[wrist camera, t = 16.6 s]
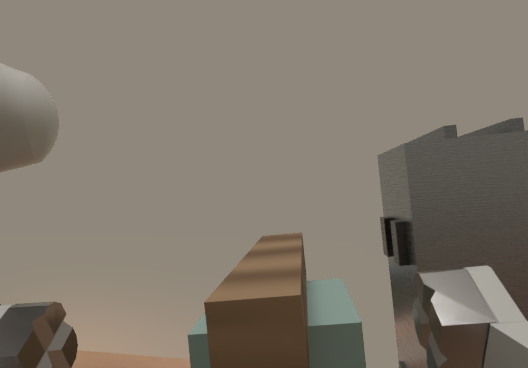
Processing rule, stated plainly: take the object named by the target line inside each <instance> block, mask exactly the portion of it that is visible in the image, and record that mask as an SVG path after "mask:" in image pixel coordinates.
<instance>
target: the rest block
mask: <svg viewBox="0 0 528 368" xmlns="http://www.w3.org/2000/svg"><path fill="white" fill-rule="evenodd" d="M306 287H307V314H308V341H309V368H366V362H365V353H364V343H363V333H362V323H361V320H360V318H359V316H358V314H357V311H356V309H355V307H354V305H353V303H352V300H351V298H350V296H349V294H348V292H347V290H346V287H345V285H344V283H343V280H342V279H341V278H339V279H327V280H315V281H306ZM188 342H189V353H190V364H191V368H210V358H209V347H208V336H207V326H206V315H205V314H204V315H203V316H202V318H201V319H200V320H199V321H198V323H197V324H196V325H195V326H194V328H193V329H192V330H191V331H190V333H189V334H188Z"/></svg>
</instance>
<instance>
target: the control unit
mask: <svg viewBox="0 0 528 368" xmlns="http://www.w3.org/2000/svg"><path fill="white" fill-rule="evenodd" d="M378 165H379V174H380V184H381V194H382V202H383V213H384V217H380V220H381V230H382V240H383V249H384V254H385V255H386V256H387V257H388V261H389V271H390V280H391V289H392V299H393V308H394V317H395V328H396V337H397V347H398V357H399V368H428V365H427V363H426V362H427V350H426V349H425V348H423V347H422V346H421V345H420V343H419V340H418V337H417V333H416V329H415V325H414V317H413V302H414V300H415V299H416V298H417V297H418V296H417V293H416V291H415V288H414V277H415V274H416V272H425V271H437V270H448V269H459V268H462V269H463V268H466V267H476V266H486V265H487V266H489V267H491V268H492V269H493V271H494V272H495V274H496V275H497V277H498V278H499V280H500V281H501V283H502V284H503V286H504V287H505V289H506V290H507V292H508V293H509V295H510V296H511V298H512V299H513V301H514V302H515V304H516V305H517V307H518V308H519V310H520V311H521V313H522V314H523V316H524V317H525V319H526V320H527V321H528V130H527V131H524V124H523V118H515V119H509V120H506V121H503V122H500V123H497V124H494V125H492V126H489V127H486V128H483V129H480V130H477V131H474V132H471V133H468V134H465V135H462V136H460V137H457V130H456V125H450V126H443V127H441V128H439V129H437V130H434V131H432V132H430V133H428V134H426V135H423V136H421V137H419V138H417V139H415V140H412V141H410V142H408V143H404V144H402V145H400V146H398V147H395V148H393V149H391V150H389V151H387V152H384V153H382V154H380V155H378Z"/></svg>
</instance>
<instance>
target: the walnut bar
mask: <svg viewBox="0 0 528 368" xmlns="http://www.w3.org/2000/svg"><path fill="white" fill-rule="evenodd" d="M204 304H205V315H206V326H207V336H208V347H209V358H210V368H309V341H308V314H307V287H306V269H305V258H304V248H303V238H302V233H292V234H282V235H270V236H262V237H261V239H260V240H259V241H258V242H257V243H256V244H255V246H254V247H253V248H252V249H251V250H250V251H249V252H248V253H247V254H246V256H245V257H244V258H243V259H242V260H241V261H240V262H239V264H238V265H237V266H236V267H235V268H234V269H233V271H232V272H231V273H230V274H229V275H228V276H227V277H226V278H225V279H224V281H223V282H222V283H221V284H220V285H219V286H218V287H217V289H216V290H215V291H214V292H213V293H212V294H211V295H210V297H209V298H208V299H207V300H206V301H205V302H204Z"/></svg>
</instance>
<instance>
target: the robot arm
mask: <svg viewBox="0 0 528 368" xmlns="http://www.w3.org/2000/svg"><path fill="white" fill-rule="evenodd" d="M58 129H59V119H58V113H57V109H56V106H55V103H54V101H53V99H52V97H51V95H50V94H49V92H48V91H47V89H46V88H45V87H44V86H43V85H42V84H41V83H40V82H39V81H38V80H37V79H36V78H34V77H33V76H32V75H30V74H28V73H25V72H22V71H19V70H16V69H13V68H11V67H9V66H6V65H4V64H1V63H0V172H3V171H7V170H12V169H16V168H20V167H24V166H28V165H32V164H35V163H39V162H41V161H43V160H44V159H45V157H46V156H47V155H48V154H49V153H50V151H51V149H52V148H53V146H54V144H55V141H56V139H57V135H58ZM414 288H415V291H416V293H417V296H418V297H417V298H416V299H415V300H414V302H413V317H414V325H415V329H416V333H417V337H418V340H419V343H420V345H421V346H422V347H423V348H425V349H426V350H427V362H426V363H427V365H428V368H528V321H527V320H526V319H525V317H524V316H523V314H522V313H521V311H520V310H519V308H518V307H517V305H516V304H515V302H514V301H513V299H512V298H511V296H510V295H509V293H508V292H507V290H506V289H505V287H504V286H503V284H502V283H501V281H500V280H499V278H498V277H497V275H496V274H495V272H494V271H493V269H492V268H491V267H489V266H487V265H486V266H476V267H466V268H463V269H462V268H459V269H448V270H437V271H425V272H416V274H415V277H414ZM65 316H66V312H65V310H64V308H63V307H62V305H61V303H57V302H42V303H24V304H15V305H1V304H0V368H71V367H72V365H73V363H74V361H75V358H76V353H77V346H78V344H77V337H76V334H75V332H74V329H73V327H71V326H70V325H68V324H66V323H65V322H64V321H63V320H64V318H65Z"/></svg>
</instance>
